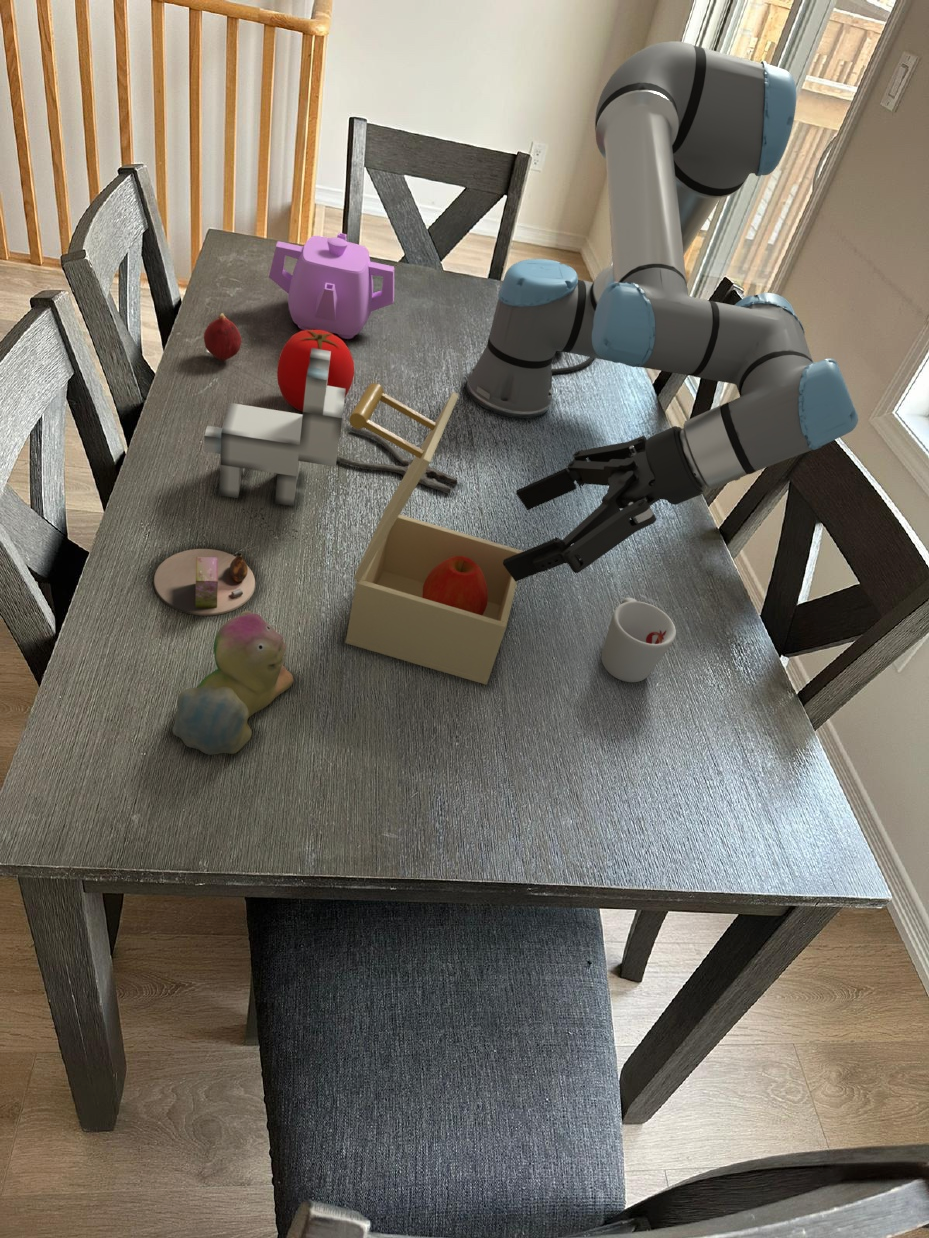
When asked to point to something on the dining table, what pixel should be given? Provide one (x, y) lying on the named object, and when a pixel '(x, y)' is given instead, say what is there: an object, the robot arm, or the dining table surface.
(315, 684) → the dining table surface
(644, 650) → the cup
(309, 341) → the tomato
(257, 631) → the sculpture
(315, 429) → the toy llama
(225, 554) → the pink plate
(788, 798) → the dining table surface
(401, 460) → the pliers
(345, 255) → the teapot
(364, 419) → the lid
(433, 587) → the apple
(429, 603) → the chest
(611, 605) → the dining table surface
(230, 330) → the onion
